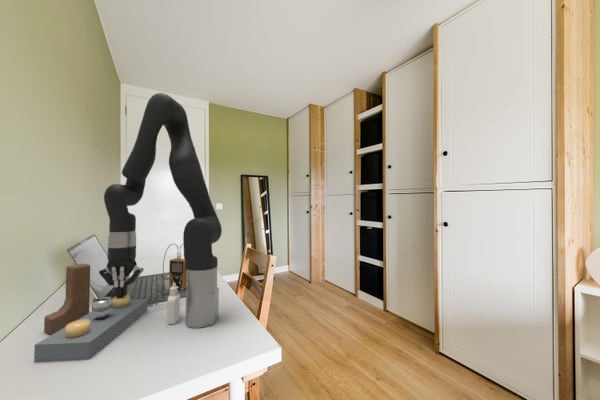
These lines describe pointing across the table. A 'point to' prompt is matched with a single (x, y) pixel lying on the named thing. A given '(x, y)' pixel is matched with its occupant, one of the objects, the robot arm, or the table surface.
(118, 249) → the robot arm
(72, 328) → the knob left
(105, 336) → the panel
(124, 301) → the knob right
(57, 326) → the wooden block
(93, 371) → the table surface
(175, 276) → the multimeter
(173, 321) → the eye dropper bottle
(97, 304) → the dial middle
